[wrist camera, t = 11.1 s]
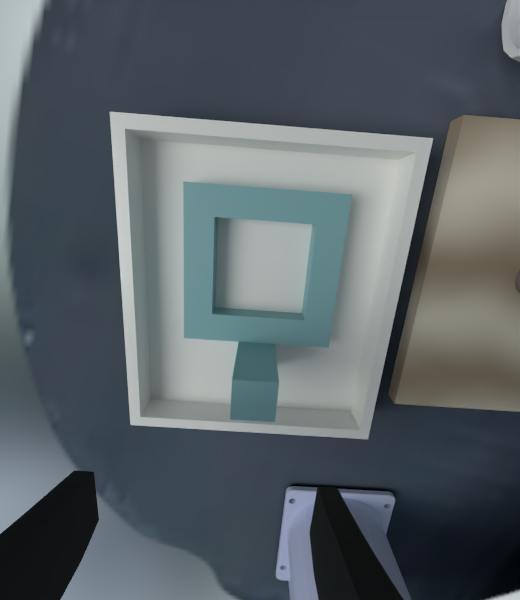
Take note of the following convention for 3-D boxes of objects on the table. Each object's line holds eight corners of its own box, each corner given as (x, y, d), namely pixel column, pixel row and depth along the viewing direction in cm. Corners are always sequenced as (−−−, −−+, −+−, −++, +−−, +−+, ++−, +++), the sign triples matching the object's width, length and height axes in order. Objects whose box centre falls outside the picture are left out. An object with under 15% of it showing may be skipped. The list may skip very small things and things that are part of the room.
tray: (354, 411, 19) (367, 439, 17) (146, 398, 19) (130, 424, 17) (405, 151, 15) (433, 138, 12) (134, 129, 14) (109, 111, 12)
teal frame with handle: (319, 368, 17) (342, 426, 13) (189, 360, 17) (161, 415, 12) (344, 196, 15) (386, 185, 10) (189, 184, 14) (154, 167, 10)
